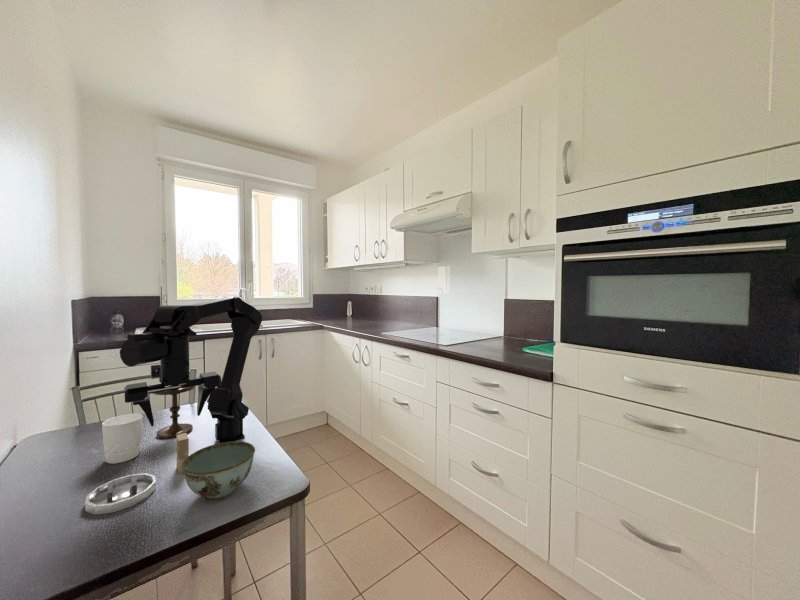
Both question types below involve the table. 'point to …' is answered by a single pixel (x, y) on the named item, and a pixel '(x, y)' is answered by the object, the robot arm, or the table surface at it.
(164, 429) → the candlestick
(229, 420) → the robot arm
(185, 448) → the wooden plank
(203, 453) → the bowl
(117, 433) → the white cup
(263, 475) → the table surface
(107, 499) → the tin
